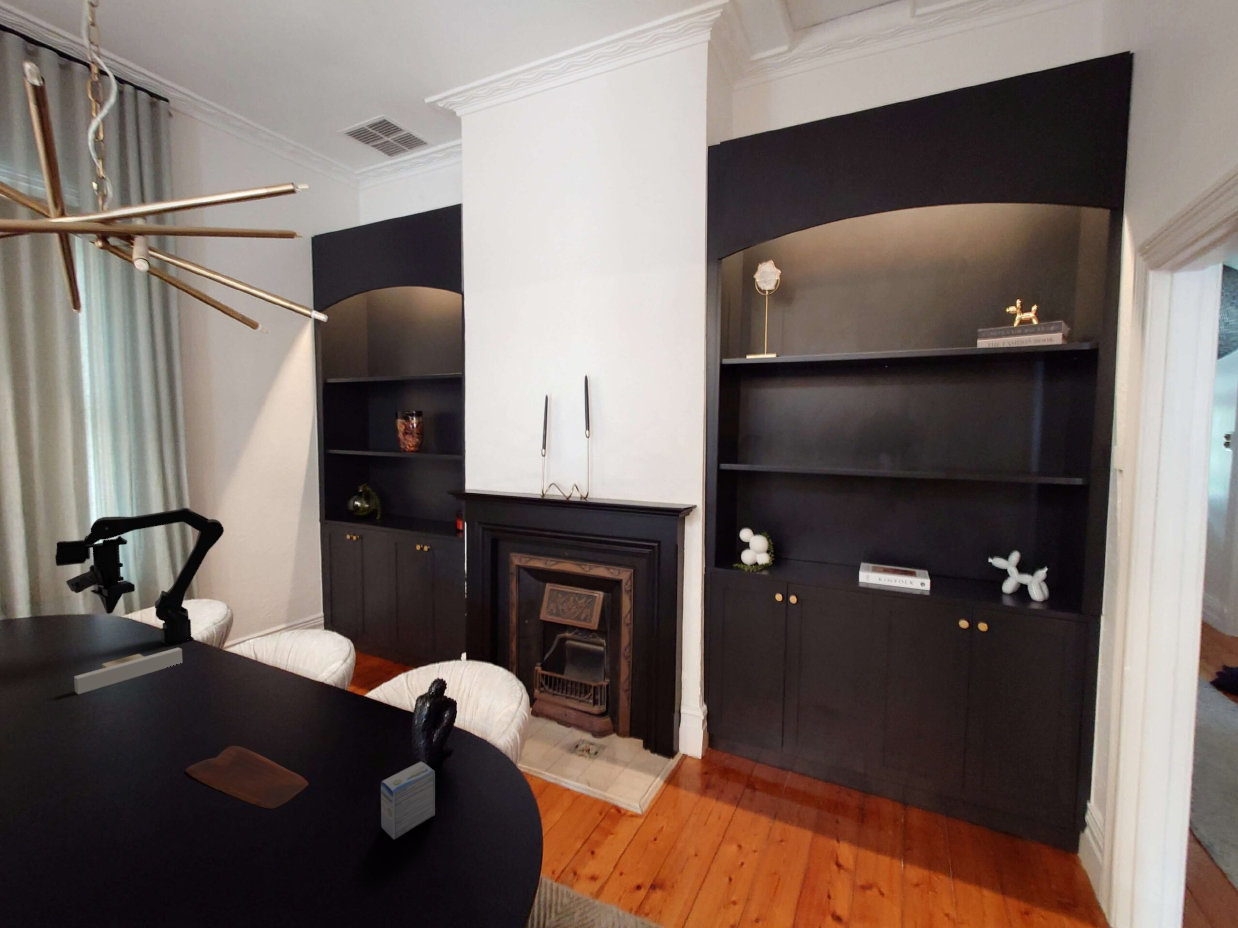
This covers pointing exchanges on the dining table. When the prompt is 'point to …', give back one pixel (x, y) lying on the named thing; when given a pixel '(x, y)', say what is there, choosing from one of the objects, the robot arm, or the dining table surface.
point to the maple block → (121, 660)
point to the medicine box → (407, 799)
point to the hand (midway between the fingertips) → (109, 613)
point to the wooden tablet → (249, 777)
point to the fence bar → (126, 670)
